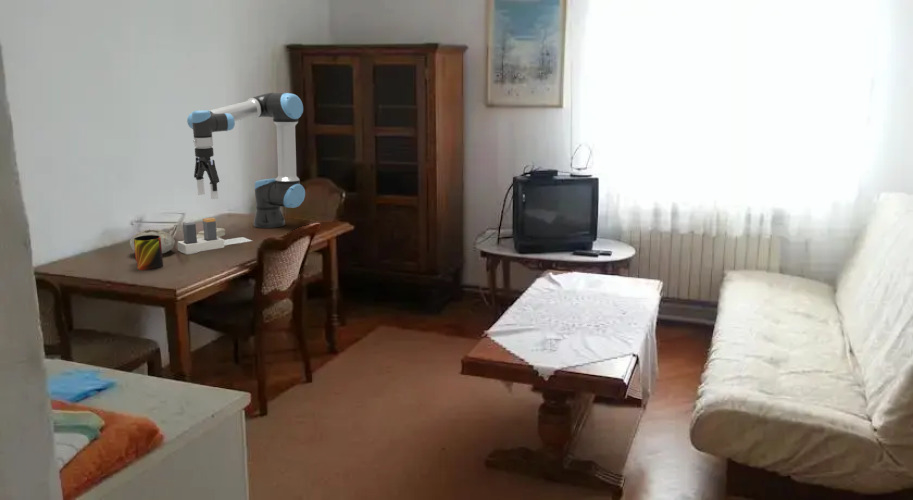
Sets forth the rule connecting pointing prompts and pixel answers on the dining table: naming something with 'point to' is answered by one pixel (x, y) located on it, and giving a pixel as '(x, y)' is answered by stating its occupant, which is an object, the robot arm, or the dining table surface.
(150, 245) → the mug
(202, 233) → the electrical outlet
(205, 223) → the plug
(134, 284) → the dining table surface
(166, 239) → the grey stone
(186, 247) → the socket strip
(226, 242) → the tray
